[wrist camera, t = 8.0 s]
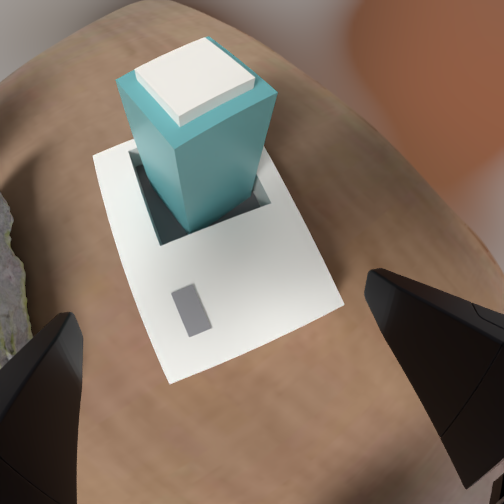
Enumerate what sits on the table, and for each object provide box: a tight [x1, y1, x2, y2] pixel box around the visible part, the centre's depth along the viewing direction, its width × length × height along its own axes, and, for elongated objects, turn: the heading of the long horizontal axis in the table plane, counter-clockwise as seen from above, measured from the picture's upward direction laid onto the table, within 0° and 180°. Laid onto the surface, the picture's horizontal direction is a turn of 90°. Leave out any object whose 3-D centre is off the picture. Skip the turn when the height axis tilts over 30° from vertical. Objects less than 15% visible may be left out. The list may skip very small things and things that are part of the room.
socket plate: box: [93, 139, 344, 384], centre depth 18 cm, size 14×10×3 cm
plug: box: [116, 36, 278, 235], centre depth 15 cm, size 4×4×10 cm
